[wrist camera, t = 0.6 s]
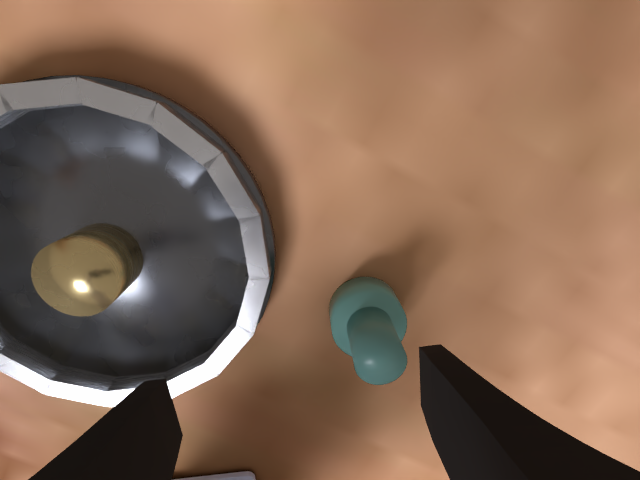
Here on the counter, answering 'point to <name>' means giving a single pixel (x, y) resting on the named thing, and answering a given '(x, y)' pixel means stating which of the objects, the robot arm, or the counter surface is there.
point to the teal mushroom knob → (370, 328)
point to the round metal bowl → (123, 241)
